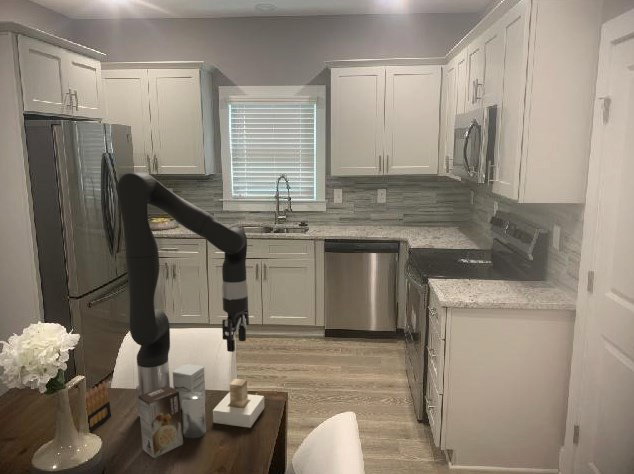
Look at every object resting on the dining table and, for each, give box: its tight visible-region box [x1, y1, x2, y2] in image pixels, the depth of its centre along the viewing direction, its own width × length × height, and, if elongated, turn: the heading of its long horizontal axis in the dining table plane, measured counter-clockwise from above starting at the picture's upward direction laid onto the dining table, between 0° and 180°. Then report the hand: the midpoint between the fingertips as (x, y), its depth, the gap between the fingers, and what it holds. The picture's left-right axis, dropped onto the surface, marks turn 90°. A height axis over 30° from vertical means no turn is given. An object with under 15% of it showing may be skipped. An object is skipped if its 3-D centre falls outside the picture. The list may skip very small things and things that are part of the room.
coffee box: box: [138, 386, 184, 459], centre depth 138 cm, size 9×6×16 cm
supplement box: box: [172, 363, 206, 410], centre depth 161 cm, size 7×7×13 cm
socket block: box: [212, 391, 265, 428], centre depth 155 cm, size 12×12×4 cm
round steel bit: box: [181, 392, 207, 439], centre depth 145 cm, size 6×6×11 cm
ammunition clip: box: [85, 380, 112, 433], centre depth 150 cm, size 11×2×12 cm, turn 164°
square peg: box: [229, 378, 248, 408], centre depth 155 cm, size 4×4×11 cm
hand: (236, 345), depth 152 cm, fingers open, 8 cm apart
